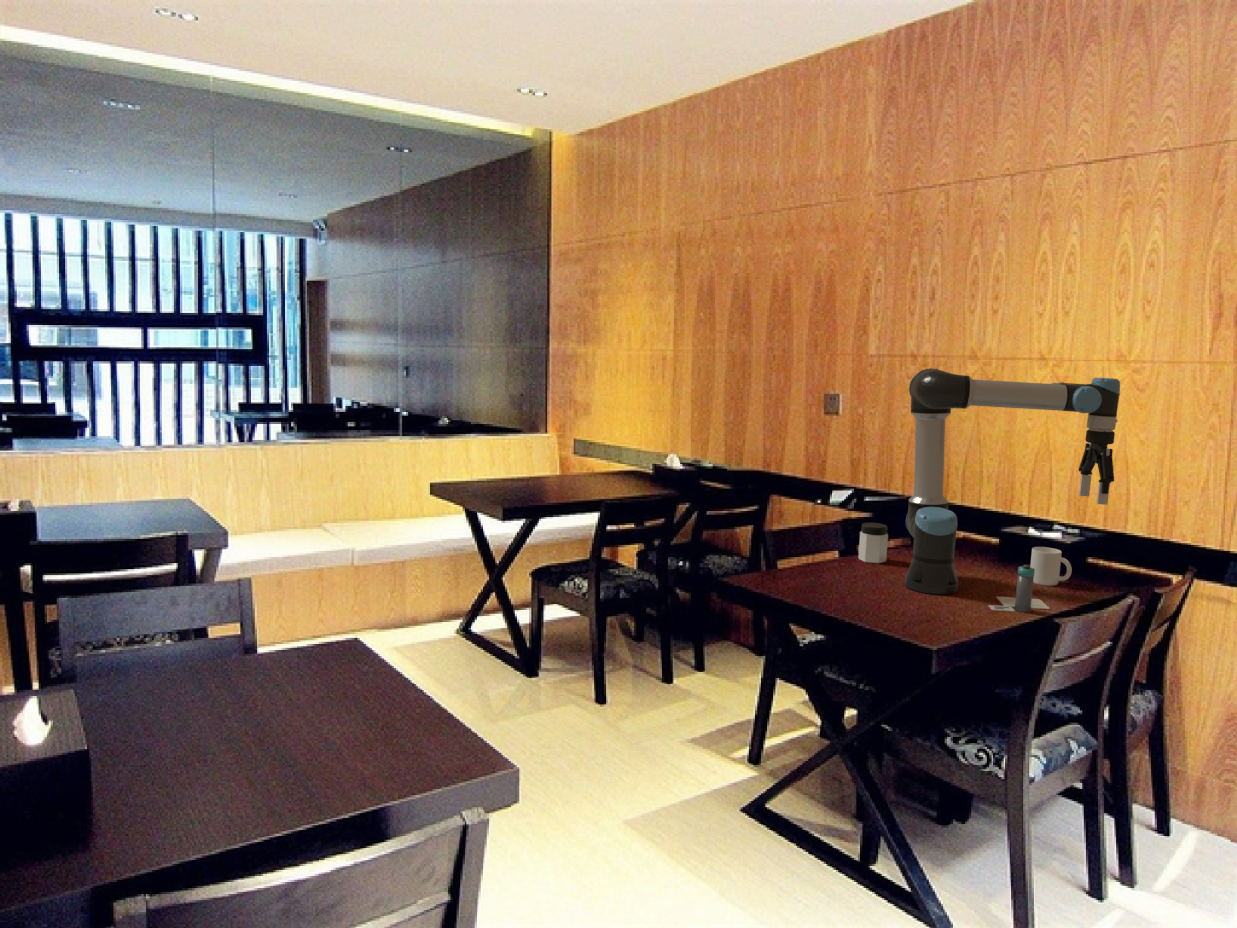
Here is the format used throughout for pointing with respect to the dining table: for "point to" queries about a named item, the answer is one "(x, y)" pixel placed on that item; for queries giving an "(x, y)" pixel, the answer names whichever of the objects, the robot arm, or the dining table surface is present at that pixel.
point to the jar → (873, 543)
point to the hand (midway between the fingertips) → (1092, 500)
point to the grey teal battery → (1024, 589)
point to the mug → (1048, 566)
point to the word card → (1001, 608)
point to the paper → (1011, 601)
